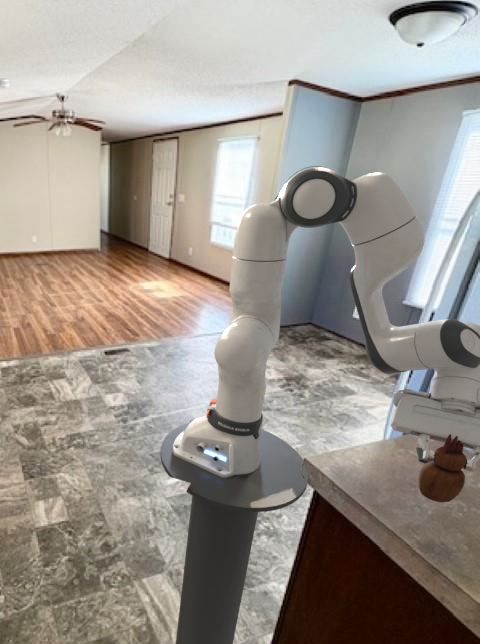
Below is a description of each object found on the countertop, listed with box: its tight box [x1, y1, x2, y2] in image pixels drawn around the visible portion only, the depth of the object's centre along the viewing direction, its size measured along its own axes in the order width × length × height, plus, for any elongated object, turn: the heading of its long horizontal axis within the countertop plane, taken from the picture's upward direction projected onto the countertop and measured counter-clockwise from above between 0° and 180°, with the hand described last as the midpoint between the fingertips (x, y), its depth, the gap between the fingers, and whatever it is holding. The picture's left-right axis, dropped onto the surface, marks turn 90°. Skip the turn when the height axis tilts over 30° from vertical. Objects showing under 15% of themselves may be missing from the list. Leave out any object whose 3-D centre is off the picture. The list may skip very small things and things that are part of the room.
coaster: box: [416, 446, 431, 464], centre depth 107 cm, size 6×6×1 cm
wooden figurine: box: [417, 434, 467, 503], centre depth 82 cm, size 7×6×15 cm
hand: (448, 464), depth 82 cm, fingers closed on wooden figurine, 5 cm apart
